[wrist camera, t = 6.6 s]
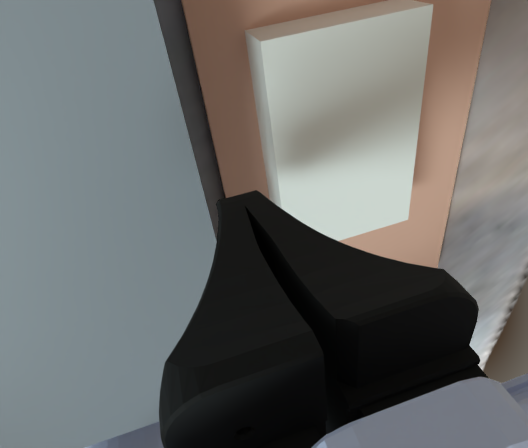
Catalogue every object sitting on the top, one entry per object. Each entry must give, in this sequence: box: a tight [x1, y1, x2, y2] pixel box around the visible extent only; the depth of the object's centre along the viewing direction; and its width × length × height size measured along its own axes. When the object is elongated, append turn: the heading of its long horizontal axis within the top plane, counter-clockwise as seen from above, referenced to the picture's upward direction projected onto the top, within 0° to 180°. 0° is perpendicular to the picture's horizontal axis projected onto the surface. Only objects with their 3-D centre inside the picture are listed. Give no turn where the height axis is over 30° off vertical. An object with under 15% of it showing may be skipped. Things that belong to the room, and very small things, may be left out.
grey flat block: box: [0, 0, 217, 448], centre depth 14 cm, size 22×14×4 cm, turn 8°
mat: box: [181, 0, 491, 268], centre depth 17 cm, size 22×12×1 cm, turn 8°
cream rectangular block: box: [244, 0, 433, 241], centre depth 16 cm, size 9×6×2 cm, turn 8°
